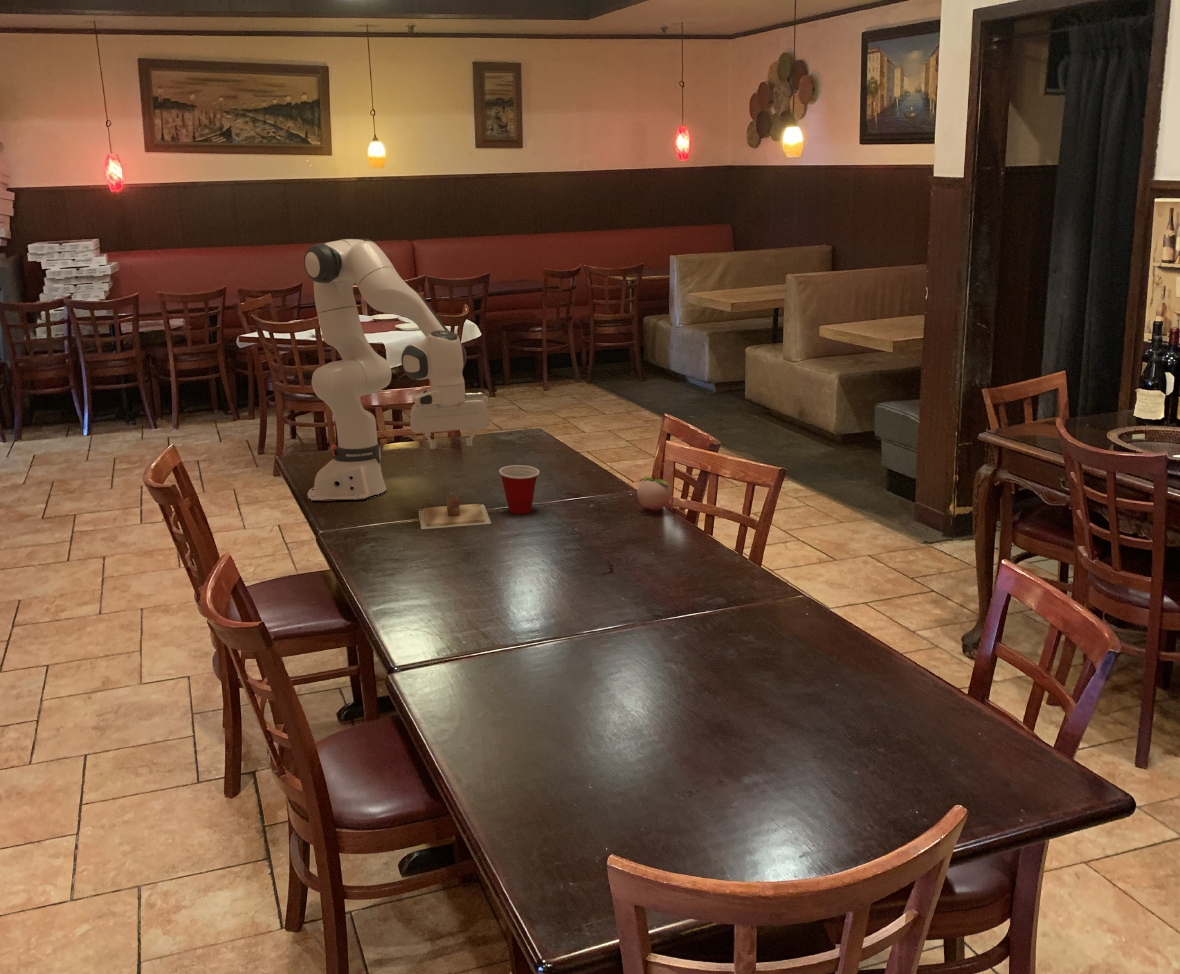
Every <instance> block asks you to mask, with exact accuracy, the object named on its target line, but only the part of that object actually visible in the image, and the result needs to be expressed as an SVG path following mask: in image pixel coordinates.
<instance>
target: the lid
mask: <svg viewBox="0 0 1180 974" xmlns="http://www.w3.org/2000/svg"><path fill="white" fill-rule="evenodd" d="M445 500H446V505H445V506H433V507H423V509H424V514H425V520H426V525H427V527H433V526H445V525H457V524H470V523H482V522H485V519H484V516H483V513H482V510H481V508H480V505H481V504H480V503H471V504H470V503H469V504H460V499H459V497H458V495H455V496H446V499H445Z"/></svg>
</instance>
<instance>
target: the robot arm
mask: <svg viewBox="0 0 1180 974" xmlns="http://www.w3.org/2000/svg"><path fill="white" fill-rule="evenodd" d="M303 265H304V269H305V271H306V272H305V273H306V274H307V276H308V277H309V278H310V279H311V280H312V281H313V294H314V295H313V296H314V303H315V304H314V305H315V308H316V313H317V314H316V315H317V319H318V322H319V326H320V327H319V328H320V332H321V335H322V336H321V337H322V338H323V339H322V340H323V341H324V342H325V343H326V344H327V345H328V346H330V347H333V348H334V349H335V350H336V351H337V352H338V354H339V356H340V357H341V360H336V361H330V362H328V363H325V364H324V365H322V366H319V367H318V368H316V369H315V370H314V371H313V373H312V377H311V386H312V390H313V392H314V394H315V396H317V398H318V399H320V400H321V401H323V402H324V403H325V404H326V405H327V407H329V409H330V411H331V413H332V415H333V417H334V421H335V426H336V435H337V443H338V444H337V445H336V444H332V445H331V446H330V452H331V458H332V459H331V460H330V461H329V462H327V463H326V465H324V466H323V467H322V468H321V469H319V471H317V473H316V475H315V477H314V486H313V487H311V488H310V489H309V490H308V491H307V495H306V496H308V497H307V499H308V498H310V499H311V500H324V499H326V500H327V499H357V498H358V499H359V498H360V499H361V498H366V497H368V496H372V495H375V494H379V493H381V492H384V491H385V490H386V489H387V490H388V488H387V485H386V482H385V481H384V477H383V473H382V472H383V471H382V468H381V457H382V456H381V447H380V443H379V442H378V433H377V432H378V431H377V421H376V418H375V416H374V414H373V413H372V412H370V411H368V410H366V409H365V408H364V406H363V404H362V401H361V397H362V396H367V395H371V394H376V393H378V392H380V391H381V390H383V389H385V388H387V386H389V385H390V383H391V381H392V372H393V371H392V368H391V365H390V364H389V362H388V361H387V359H386V358H384V357H382V356H381V355H380V354H378V353H377V352H376V351H375V350H374V349H373V347H372V346H371V344H370V343H369V341H368V339H367V338H366V336H365V333H364V331H363V326H362V322H361V319H360V314H359V310H358V307H357V302H356V299H355V295H354V284H355V285H356V287H357V288H358V291H359V293H360V295H361V296H362V298H363V299H364V301H365V302H366V303H367V304H368V305H369V306H370V308H372V309H373V310H375V311H378V312H380V313H386V314H390V315H395V316H396V315H397V316H399V317H403V318H406V319H408V320H410V321H412V322H413V323H414V324H415V325H416V326H417V328H418V329H419V330H420V331H421V333H422V334H423V335H424V337H425V338H423V339H422V340H419V341H417V342H413V343H412V344H409V345H406V346H405V348H404V349H403V351H402V354H401V362H400V363H401V367H402V370H403V372H404V373H405V374H406V376H407V377H409V378H410V379H411V380H416V381H417V380H418V381H423V380H427V379H428V380H429V381H430V382H429V386H430V387H429V388H427V389H423V390H421V391H419V392H415V394H414V395H413V401H414V404H412V407H411V410H410V430H411V431H412V432H413V433H414V434H421V433H424V435H425V437H426V439H427V441H428V442H429V447H430V449H431V450H432V449H437V441H436V440H432V439H431V436H432V433H433V432H434V433H435V432H447V431H448V432H449V431H462V430H464V431H465V430H469V432H470V435H469V437H466V438H465V441H466V446H467V447H470V446H471V447H472V446H473V439H474V437H475V435H476V433H477V429H486V428H488V427H489V426H490V420H489V412H488V408H489V407H490V406H489V405H490V403H489V397H488V395H487V394H485V393H483V392H467V393H466V389H465V388H466V387H465V386H466V385H465V384H466V383H465V379H464V378H465V377H464V376H463V370H464V368H465V366H466V362H467V351H466V348H465V346H464V345H463V343H462V342H461V340H460V337H459V335H458V334H456V333H455V332H453V331H450V330H449V329H448V328H447V326H446V325H445V324H444V322H443V321H442V320H441V318H440V317H439V316H438V315H437V313H436V312H435V311H434V309H433V308H432V307H431V305H430V304H429V303H428V302H427V300H426V299H425V298H424V297H423V296H422V295H421V294H420V293H419V292H417V291H416V290H414V288H412V287H410V286H409V285H408V283H406V281H404V279H402V277H401V276H400V274H399V273H398V271H397V270H396V268H395V267H394V265H393V263H392V262H391V260H390V259H389V257H388V256H387V255H386V254H385V252H384V251H383V250H382V249H381V247H379V246H378V244H377V243H376V242H375V241H373V240H371V239H368V238H361V237H360V238H357V239H356V238H345V239H339V240H334V241H328V242H325V243H324V242H323V243H322V242H320V243H315V244H314V245H311V246H310V247H308V248H307V249H306V251H305V254H304V259H303ZM312 489H314V490H312Z"/></svg>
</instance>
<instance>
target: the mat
mask: <svg viewBox="0 0 1180 974" xmlns="http://www.w3.org/2000/svg"><path fill="white" fill-rule="evenodd" d="M479 505H480V508H481V510H482V513H483V516H484V519H485V522H482V523H470V524H457V525H445V526H433V527H427V525H426V520H425V514H424V508H423V509H422V508H421V509H422V510H423V511H420V512H421V513H420V512H419V511H418V512H419V513H418V518H419V523H420V529H421V530H428V529H429V530H430V529H431V530H432V529H443V528H444V529H445V528H454V527H464V526H465V527H467V526H478V525H489V524H492V521H491V519H490V516H489V514H488V511H487V509H486V506H485V504H479ZM420 514H421V515H420ZM420 519H422V520H420Z"/></svg>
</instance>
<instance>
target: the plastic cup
mask: <svg viewBox="0 0 1180 974" xmlns="http://www.w3.org/2000/svg"><path fill="white" fill-rule="evenodd" d="M498 474H500V478H501V482H502V485H503V490H504V495H505V500H506V502H507V507H508V511H509V513H511V514H513V515H525V514H528V513H531V511H532V509H533V501H534V495H535V489H536V482H537V479H538V476H540V475H539V474H540V470H539V468H536V467H534V466H530V465H522V464H521V465H520V464H517V465H516V464H514V465H507V466H503V467H501V468H499V471H498Z"/></svg>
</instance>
